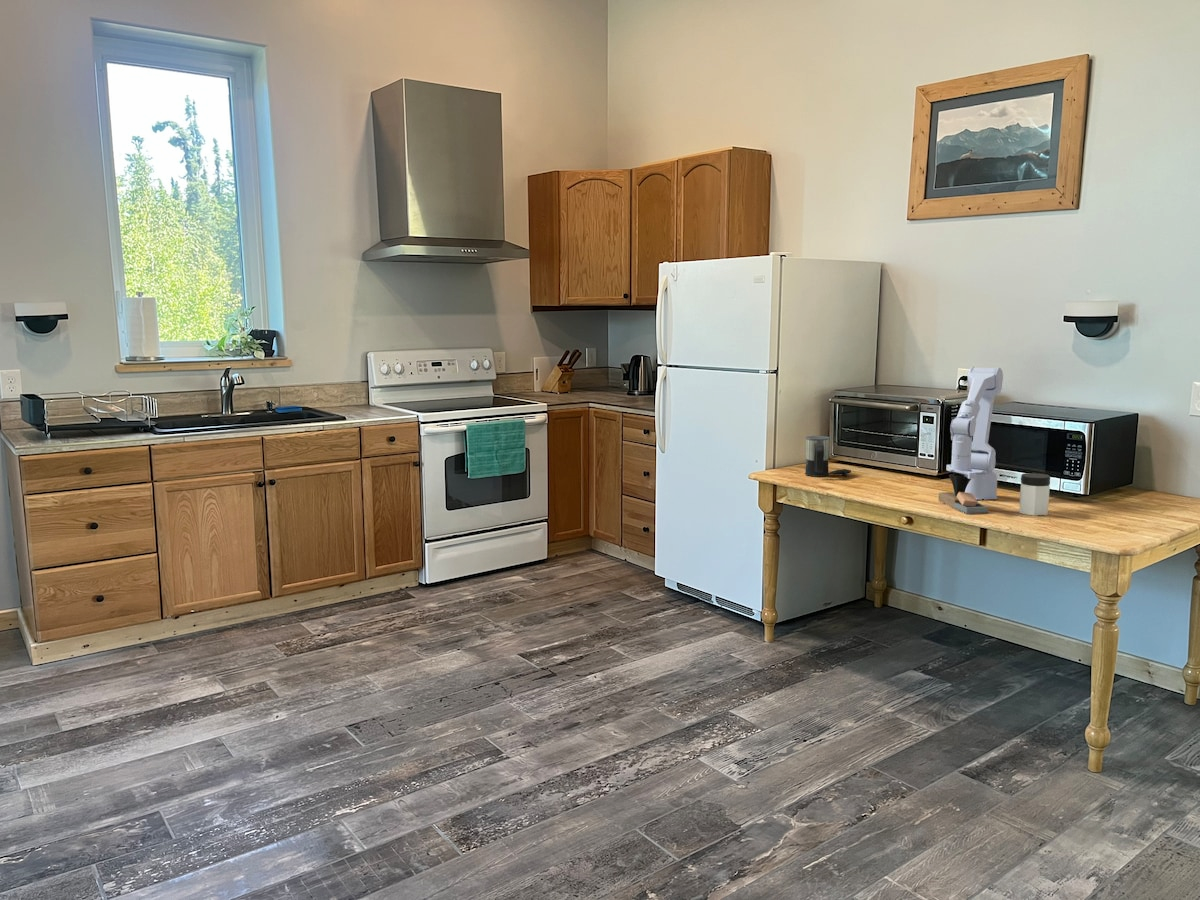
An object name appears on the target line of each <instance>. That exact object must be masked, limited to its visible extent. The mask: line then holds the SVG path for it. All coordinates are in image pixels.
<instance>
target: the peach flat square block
mask: <svg viewBox="0 0 1200 900" xmlns="http://www.w3.org/2000/svg"><path fill="white" fill-rule="evenodd" d="M956 497H957V498H958V500H959V501H960V503H961V504H962V505H964V506H973V507H975V506H976V504H977V503H979V502H978V501H979V500H976V499H975V497H974V496H973V494H972V493H966V492H959V493H958V494H957V496H956Z"/></svg>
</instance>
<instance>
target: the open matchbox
mask: <svg viewBox="0 0 1200 900" xmlns="http://www.w3.org/2000/svg"><path fill="white" fill-rule="evenodd" d="M939 501H940V502H939ZM938 502H939V503H941V502H943V503H945V504H947V505H949V506H948V507H950V506H951V507H950V508H952V507H953V508H952V509H954V506H955V503H958V502H960V501H959V500H958V498H957V497H956V496H955V493H954V491H950V492H948V491H946V492H944V491H943V492H938ZM943 503H942V504H943ZM945 504H944V505H945ZM947 505H946V506H947Z"/></svg>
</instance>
